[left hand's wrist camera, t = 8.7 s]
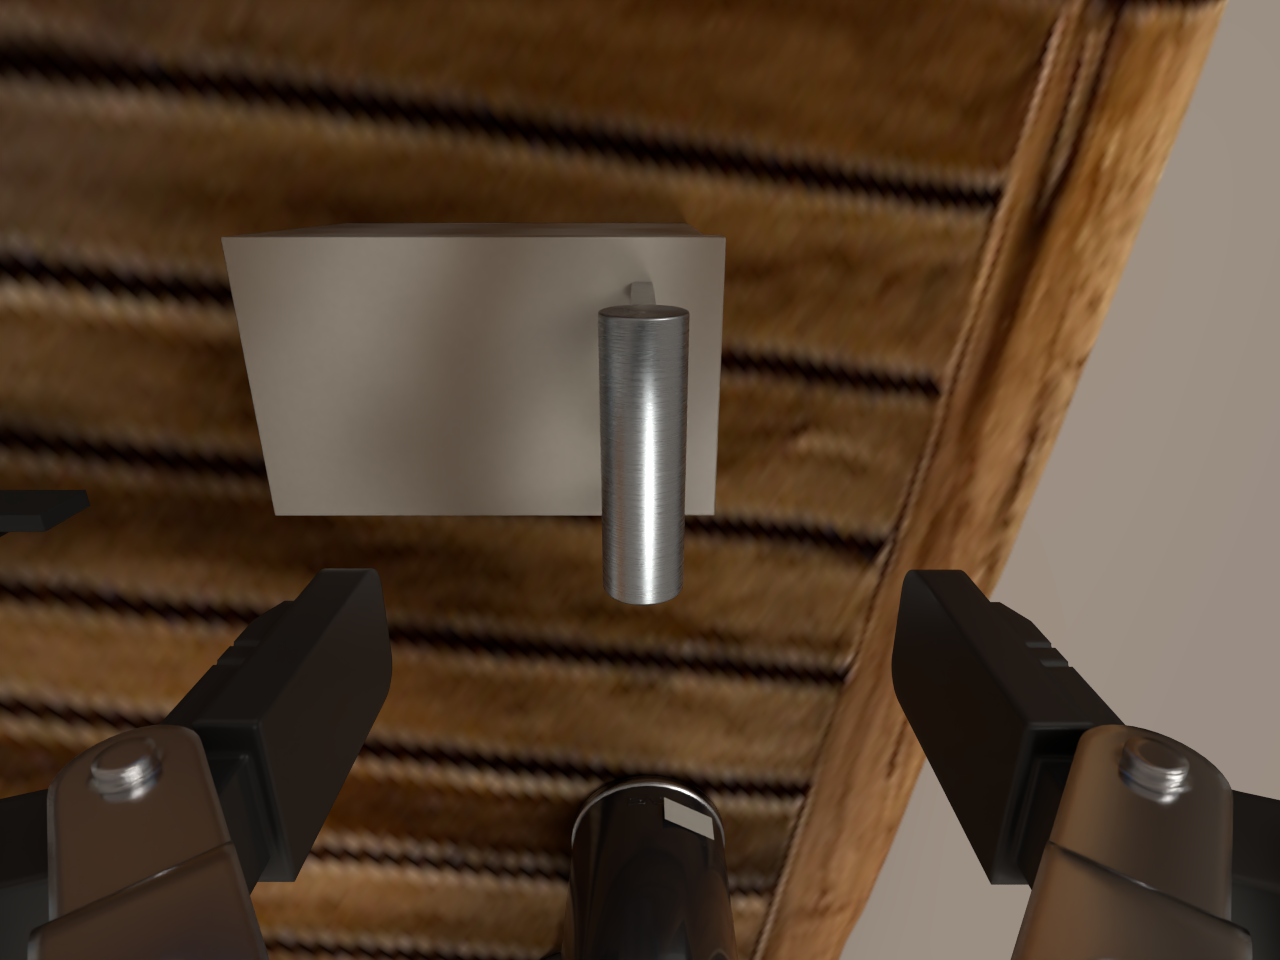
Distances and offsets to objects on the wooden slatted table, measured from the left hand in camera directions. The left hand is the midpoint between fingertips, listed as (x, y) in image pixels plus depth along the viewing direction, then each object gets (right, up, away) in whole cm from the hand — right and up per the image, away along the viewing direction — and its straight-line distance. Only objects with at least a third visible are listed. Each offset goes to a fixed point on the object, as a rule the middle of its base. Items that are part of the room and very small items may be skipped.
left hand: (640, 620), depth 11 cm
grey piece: (-5, +6, +15) cm, 17 cm away
